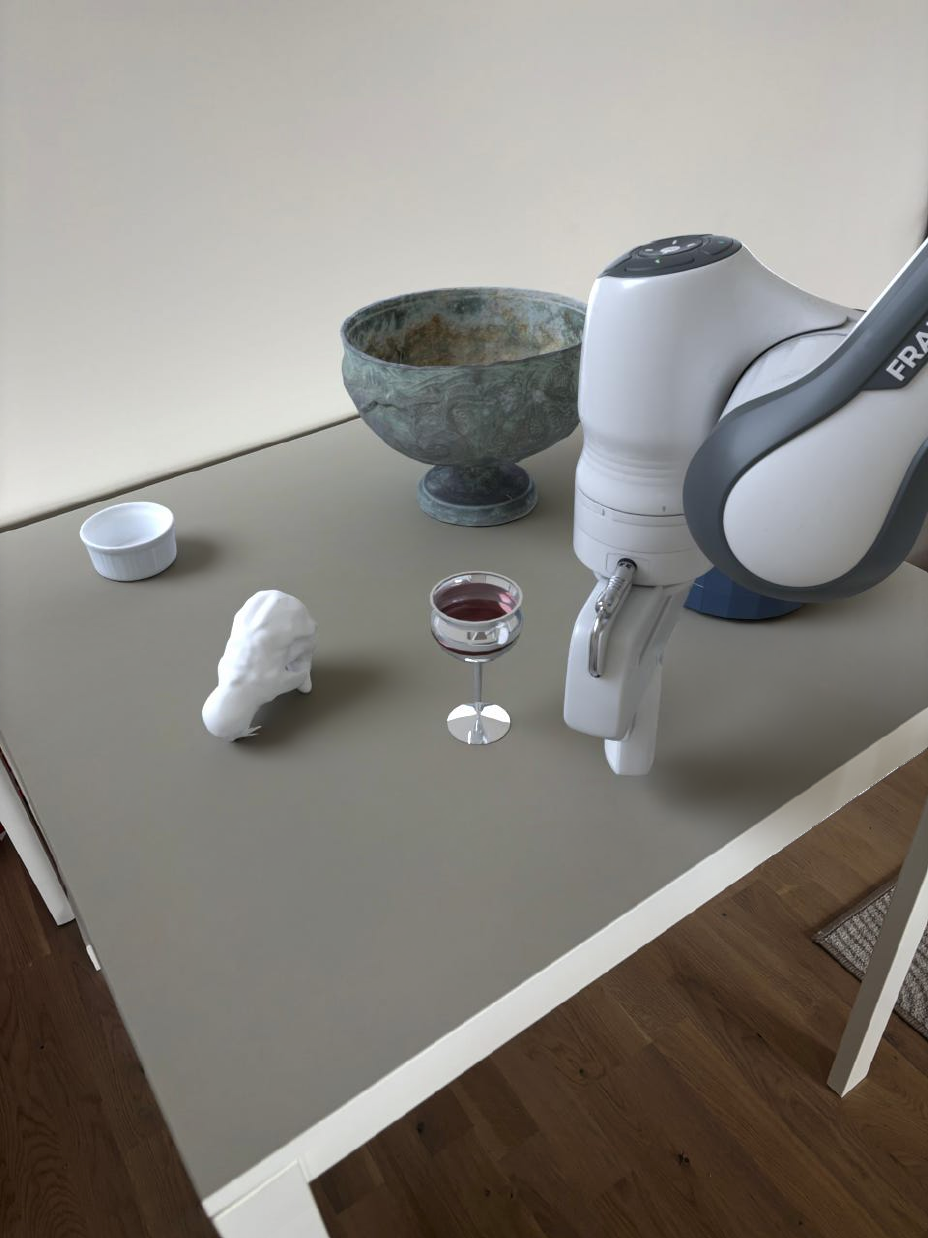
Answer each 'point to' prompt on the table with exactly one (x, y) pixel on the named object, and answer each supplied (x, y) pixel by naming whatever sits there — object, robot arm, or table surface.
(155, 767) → the table surface
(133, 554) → the ramekin
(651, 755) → the eye dropper bottle
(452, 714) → the wineglass
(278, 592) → the white lumpy figure
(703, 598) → the blue bowl
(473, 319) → the decorative bowl
